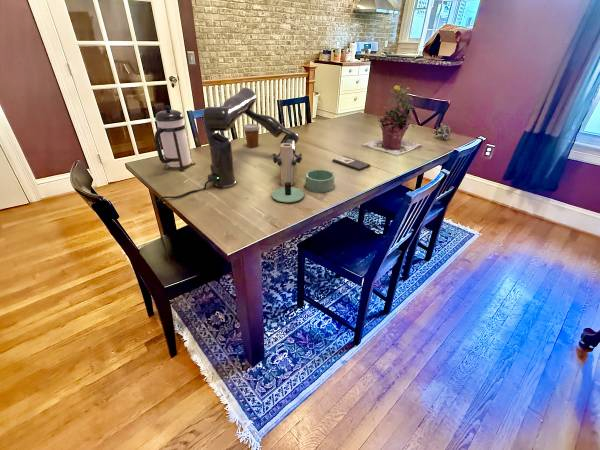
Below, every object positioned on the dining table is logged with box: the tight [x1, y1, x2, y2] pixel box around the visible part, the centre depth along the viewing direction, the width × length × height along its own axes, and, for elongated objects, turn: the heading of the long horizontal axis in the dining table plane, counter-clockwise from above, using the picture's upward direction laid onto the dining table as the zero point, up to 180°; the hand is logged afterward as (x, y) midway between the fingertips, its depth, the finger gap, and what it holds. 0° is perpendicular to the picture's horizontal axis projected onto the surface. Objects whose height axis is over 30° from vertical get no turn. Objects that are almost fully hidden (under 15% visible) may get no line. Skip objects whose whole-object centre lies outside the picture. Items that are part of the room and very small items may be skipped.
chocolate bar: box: [332, 155, 371, 172], centre depth 161 cm, size 9×1×18 cm
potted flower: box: [362, 82, 422, 157], centre depth 178 cm, size 27×25×35 cm
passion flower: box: [432, 122, 452, 141], centre depth 199 cm, size 11×11×12 cm
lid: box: [271, 182, 305, 203], centre depth 127 cm, size 14×14×6 cm
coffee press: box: [154, 104, 196, 172], centre depth 148 cm, size 17×16×30 cm
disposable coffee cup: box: [243, 123, 260, 148], centre depth 184 cm, size 10×10×12 cm
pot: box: [305, 169, 335, 193], centre depth 136 cm, size 13×13×6 cm
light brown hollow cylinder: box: [279, 143, 294, 187], centre depth 134 cm, size 5×5×18 cm
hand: (286, 164), depth 131 cm, fingers closed on light brown hollow cylinder, 5 cm apart
